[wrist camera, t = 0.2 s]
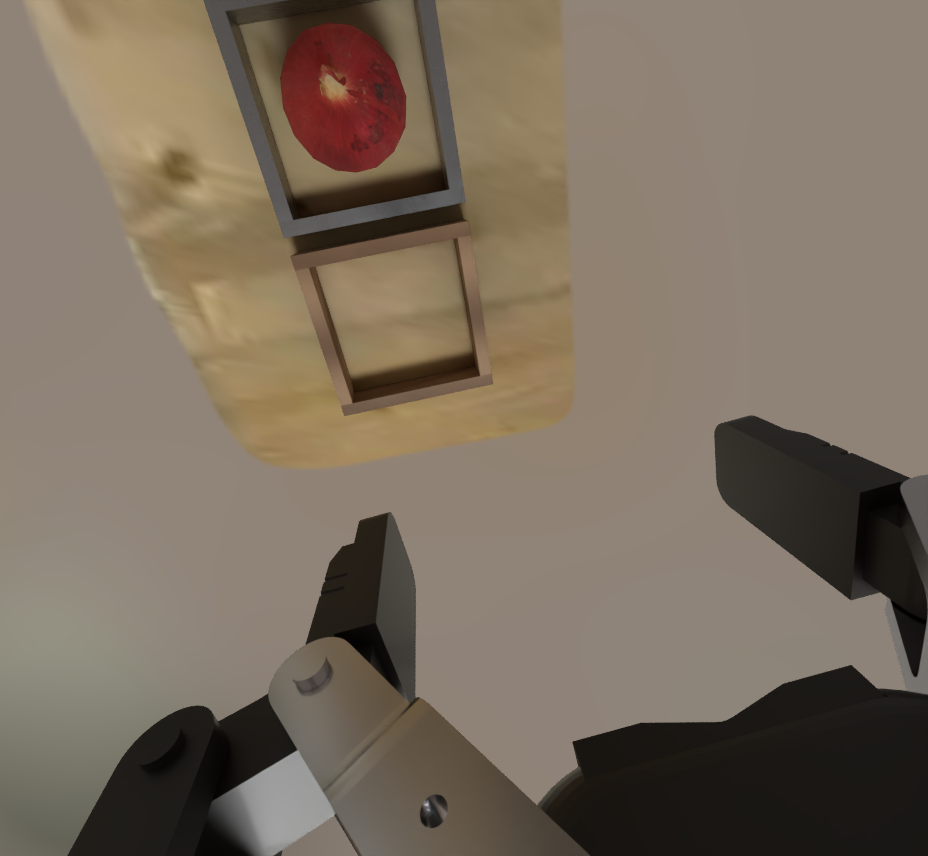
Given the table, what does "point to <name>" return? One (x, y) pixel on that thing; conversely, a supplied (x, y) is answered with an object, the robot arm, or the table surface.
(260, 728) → the robot arm
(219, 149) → the table surface
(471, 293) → the walnut frame
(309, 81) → the pomegranate
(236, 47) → the grey frame
